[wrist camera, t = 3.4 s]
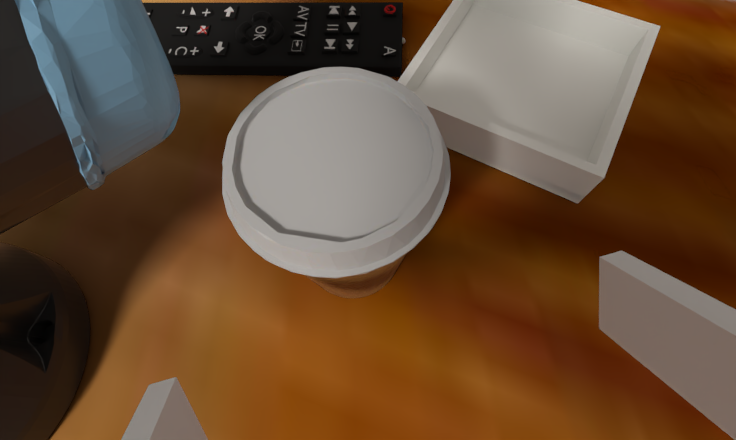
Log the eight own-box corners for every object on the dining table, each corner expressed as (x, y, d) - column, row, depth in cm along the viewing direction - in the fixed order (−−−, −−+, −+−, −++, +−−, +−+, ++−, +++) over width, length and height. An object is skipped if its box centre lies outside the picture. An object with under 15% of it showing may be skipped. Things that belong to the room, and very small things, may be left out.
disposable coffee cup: (253, 261, 26) (158, 165, 15) (346, 166, 29) (324, 27, 18) (361, 357, 23) (343, 326, 12) (453, 242, 26) (504, 132, 15)
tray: (389, 122, 30) (390, 90, 27) (466, 7, 35) (475, -32, 32) (577, 203, 27) (604, 178, 24) (632, 63, 32) (660, 26, 29)
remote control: (404, 81, 33) (405, 62, 31) (43, 77, 34) (24, 60, 32) (405, 17, 36) (406, -3, 34) (74, 17, 37) (58, -2, 35)
